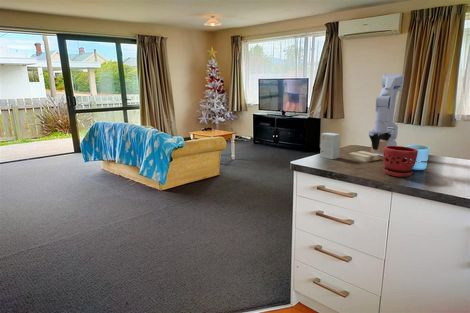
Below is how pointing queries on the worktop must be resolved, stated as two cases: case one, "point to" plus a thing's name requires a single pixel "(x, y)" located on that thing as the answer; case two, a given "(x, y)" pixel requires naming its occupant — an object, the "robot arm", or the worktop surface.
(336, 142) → the small box
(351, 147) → the worktop surface
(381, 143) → the clay block
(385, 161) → the plant pot
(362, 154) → the beige shallow dish
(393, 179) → the worktop surface
